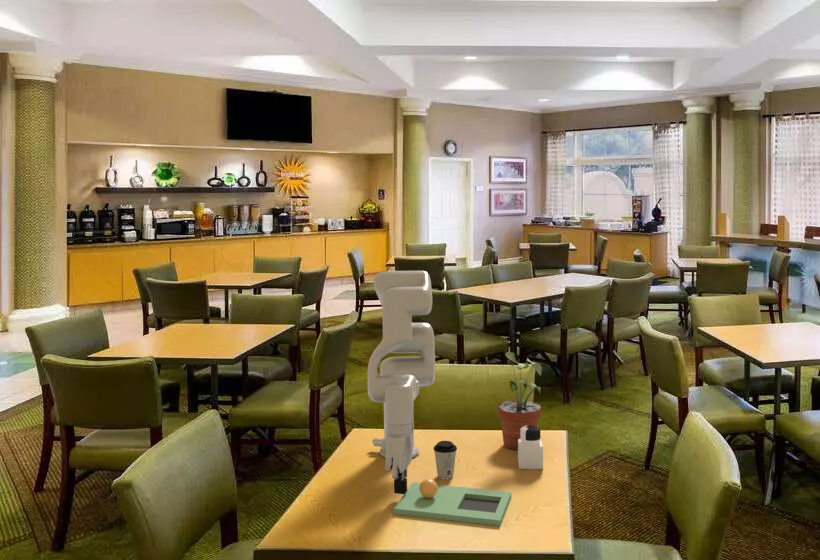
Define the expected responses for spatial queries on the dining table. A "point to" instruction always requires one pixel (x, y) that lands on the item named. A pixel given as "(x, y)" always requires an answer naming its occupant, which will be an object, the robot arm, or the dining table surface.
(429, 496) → the orange ball
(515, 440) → the potted plant
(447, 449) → the coffee cup
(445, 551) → the dining table surface
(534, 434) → the medicine bottle
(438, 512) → the mat
